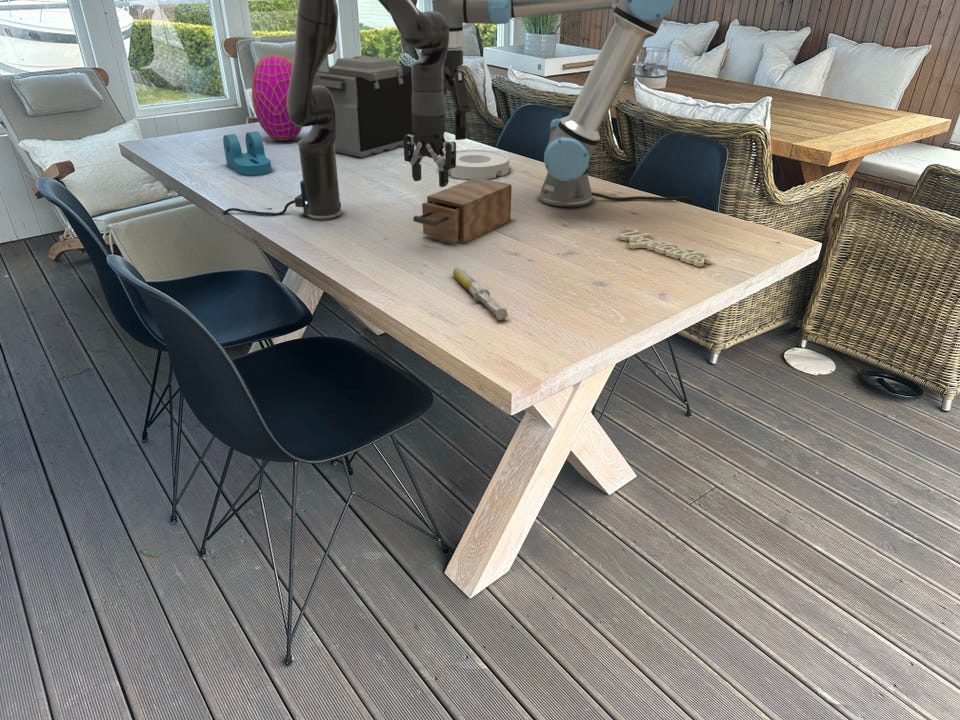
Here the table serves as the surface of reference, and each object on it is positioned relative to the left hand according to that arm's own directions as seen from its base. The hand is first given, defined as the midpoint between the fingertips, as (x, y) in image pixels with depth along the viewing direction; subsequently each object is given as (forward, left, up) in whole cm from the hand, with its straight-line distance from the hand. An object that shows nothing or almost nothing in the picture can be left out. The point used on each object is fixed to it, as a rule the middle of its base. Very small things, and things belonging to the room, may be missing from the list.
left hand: (430, 183), depth 163 cm
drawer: (+4, +9, -15) cm, 18 cm away
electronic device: (-50, +93, -16) cm, 107 cm away
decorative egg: (-85, +94, -16) cm, 128 cm away
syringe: (+18, -27, -16) cm, 36 cm away
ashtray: (-5, +70, -16) cm, 72 cm away
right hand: (-3, +30, +5) cm, 31 cm away
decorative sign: (+55, +10, -16) cm, 58 cm away
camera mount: (-78, +53, -16) cm, 95 cm away
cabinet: (+6, +15, -16) cm, 23 cm away
